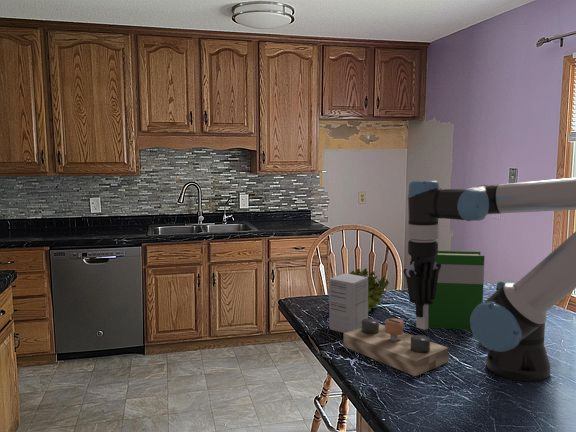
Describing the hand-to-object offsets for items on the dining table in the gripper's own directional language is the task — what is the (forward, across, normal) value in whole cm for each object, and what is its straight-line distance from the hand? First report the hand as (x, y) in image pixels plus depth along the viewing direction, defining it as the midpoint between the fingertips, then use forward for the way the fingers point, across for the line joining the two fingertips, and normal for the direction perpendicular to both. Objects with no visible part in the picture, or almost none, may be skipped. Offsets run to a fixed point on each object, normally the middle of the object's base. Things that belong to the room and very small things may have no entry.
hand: (422, 327), depth 135 cm
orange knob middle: (+8, 0, -10) cm, 12 cm away
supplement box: (+10, -5, -33) cm, 34 cm away
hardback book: (+10, -33, -14) cm, 37 cm away
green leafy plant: (+10, -25, -44) cm, 51 cm away
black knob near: (+10, 0, -1) cm, 10 cm away
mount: (+10, 0, -10) cm, 14 cm away
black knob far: (+10, 0, -19) cm, 21 cm away
